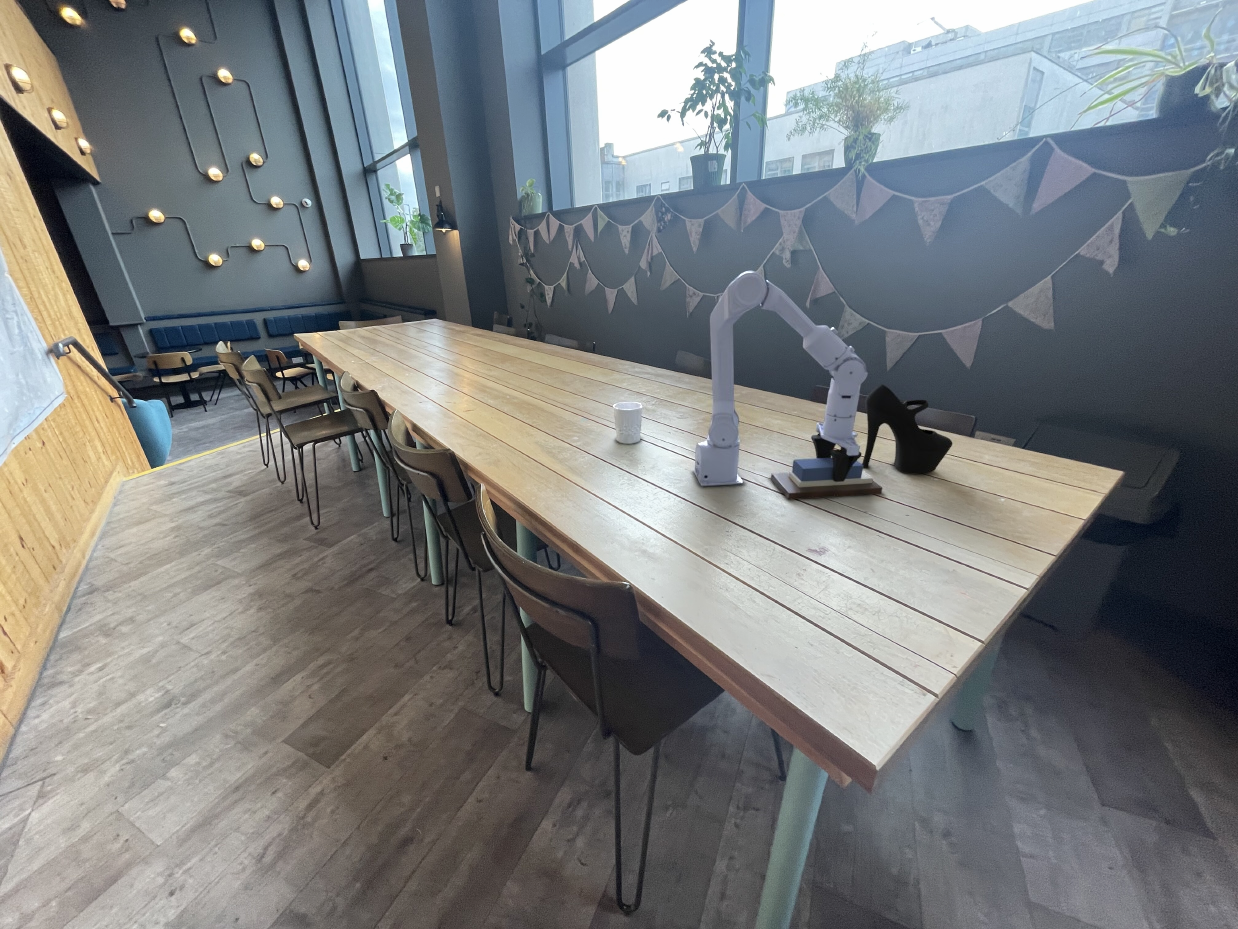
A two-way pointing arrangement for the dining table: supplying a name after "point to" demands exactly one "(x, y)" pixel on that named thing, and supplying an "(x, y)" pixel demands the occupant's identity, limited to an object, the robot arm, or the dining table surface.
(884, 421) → the high-heeled shoe
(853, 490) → the shoe shelf
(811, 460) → the blue and white eraser
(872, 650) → the dining table surface
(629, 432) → the white cup
